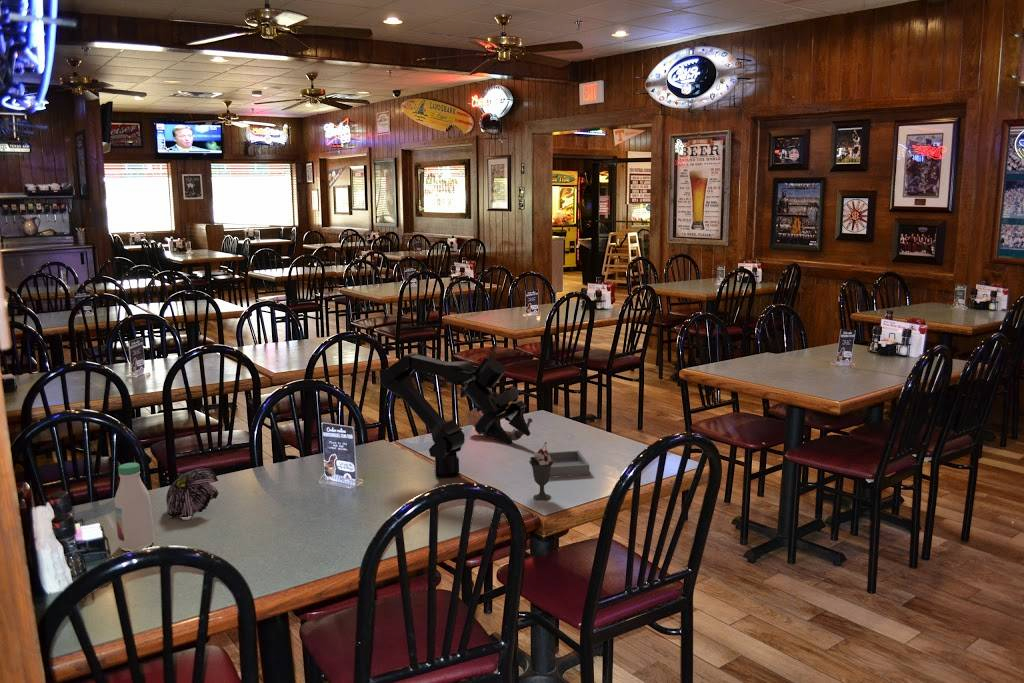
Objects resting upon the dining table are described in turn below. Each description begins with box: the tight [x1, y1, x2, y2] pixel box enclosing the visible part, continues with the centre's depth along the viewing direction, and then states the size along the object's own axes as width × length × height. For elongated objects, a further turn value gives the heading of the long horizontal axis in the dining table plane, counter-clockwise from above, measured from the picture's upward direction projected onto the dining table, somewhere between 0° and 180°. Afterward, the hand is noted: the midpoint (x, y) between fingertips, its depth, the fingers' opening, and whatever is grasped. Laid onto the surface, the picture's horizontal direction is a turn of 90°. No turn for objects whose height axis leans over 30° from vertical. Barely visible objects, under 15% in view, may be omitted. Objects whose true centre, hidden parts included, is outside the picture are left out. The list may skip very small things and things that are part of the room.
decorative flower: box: [165, 467, 219, 518], centre depth 218 cm, size 14×12×15 cm
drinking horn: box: [465, 407, 534, 441], centre depth 274 cm, size 5×29×10 cm, turn 46°
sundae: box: [528, 441, 554, 502], centre depth 222 cm, size 7×7×15 cm
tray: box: [534, 450, 590, 478], centre depth 246 cm, size 14×14×3 cm
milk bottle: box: [114, 462, 155, 550], centre depth 195 cm, size 8×8×20 cm
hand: (520, 439), depth 227 cm, fingers open, 9 cm apart
